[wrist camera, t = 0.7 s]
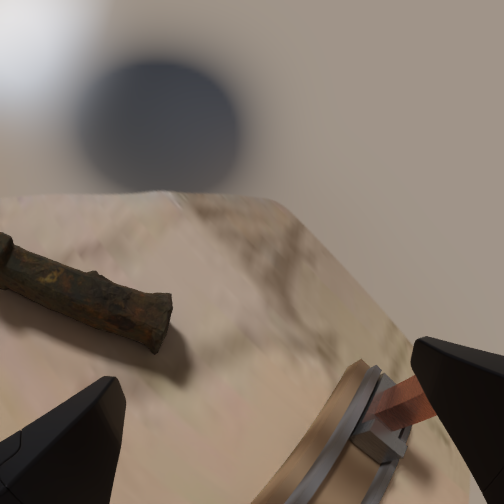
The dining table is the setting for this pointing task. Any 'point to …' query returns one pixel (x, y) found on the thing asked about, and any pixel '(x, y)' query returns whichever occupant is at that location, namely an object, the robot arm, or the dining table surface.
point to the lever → (390, 417)
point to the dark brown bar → (85, 295)
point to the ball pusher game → (334, 453)
